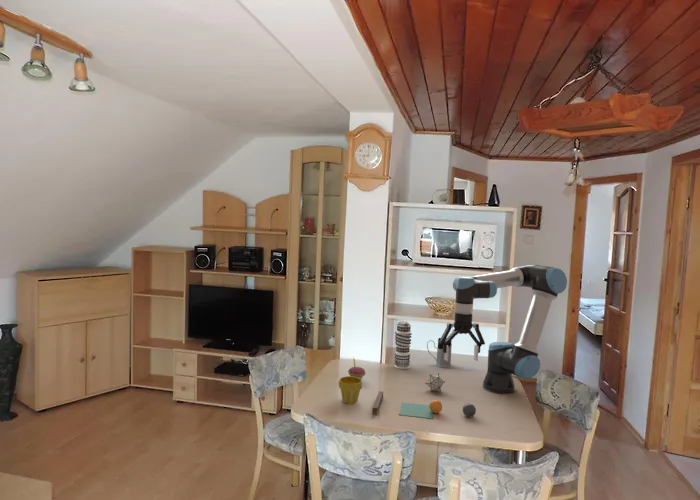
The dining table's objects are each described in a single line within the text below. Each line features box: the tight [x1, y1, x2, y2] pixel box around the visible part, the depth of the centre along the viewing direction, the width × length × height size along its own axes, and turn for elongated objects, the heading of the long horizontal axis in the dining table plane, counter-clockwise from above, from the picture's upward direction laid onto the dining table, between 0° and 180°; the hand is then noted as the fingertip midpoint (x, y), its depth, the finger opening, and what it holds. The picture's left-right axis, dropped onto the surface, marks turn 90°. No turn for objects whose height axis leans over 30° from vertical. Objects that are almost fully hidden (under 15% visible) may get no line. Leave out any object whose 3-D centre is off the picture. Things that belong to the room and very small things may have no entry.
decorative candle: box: [394, 320, 413, 370], centre depth 272 cm, size 9×9×25 cm
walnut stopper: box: [371, 390, 384, 416], centre depth 215 cm, size 2×20×3 cm, turn 169°
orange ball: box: [428, 399, 443, 414], centre depth 210 cm, size 6×6×6 cm
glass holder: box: [426, 337, 453, 369], centre depth 279 cm, size 9×14×15 cm, turn 80°
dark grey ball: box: [462, 402, 477, 418], centre depth 208 cm, size 6×6×6 cm
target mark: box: [398, 401, 434, 420], centre depth 212 cm, size 14×14×1 cm
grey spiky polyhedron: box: [424, 373, 446, 393], centre depth 237 cm, size 9×8×10 cm
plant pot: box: [338, 375, 363, 405], centre depth 220 cm, size 10×10×10 cm
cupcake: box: [347, 358, 366, 380], centre depth 246 cm, size 9×8×12 cm
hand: (460, 360), depth 216 cm, fingers open, 13 cm apart
